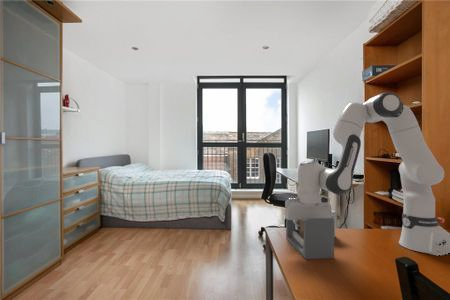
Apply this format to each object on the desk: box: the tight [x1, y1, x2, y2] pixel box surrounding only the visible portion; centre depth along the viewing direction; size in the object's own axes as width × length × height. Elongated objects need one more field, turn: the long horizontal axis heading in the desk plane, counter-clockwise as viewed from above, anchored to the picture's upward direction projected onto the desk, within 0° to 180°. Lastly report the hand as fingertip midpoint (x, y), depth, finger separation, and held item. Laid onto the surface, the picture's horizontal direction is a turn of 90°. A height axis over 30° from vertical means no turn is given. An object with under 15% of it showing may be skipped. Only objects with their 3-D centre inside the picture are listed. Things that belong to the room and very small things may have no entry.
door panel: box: [299, 220, 304, 239], centre depth 109 cm, size 12×3×10 cm, turn 5°
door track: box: [285, 217, 335, 260], centre depth 109 cm, size 22×12×16 cm, turn 5°
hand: (308, 229), depth 109 cm, fingers open, 8 cm apart
